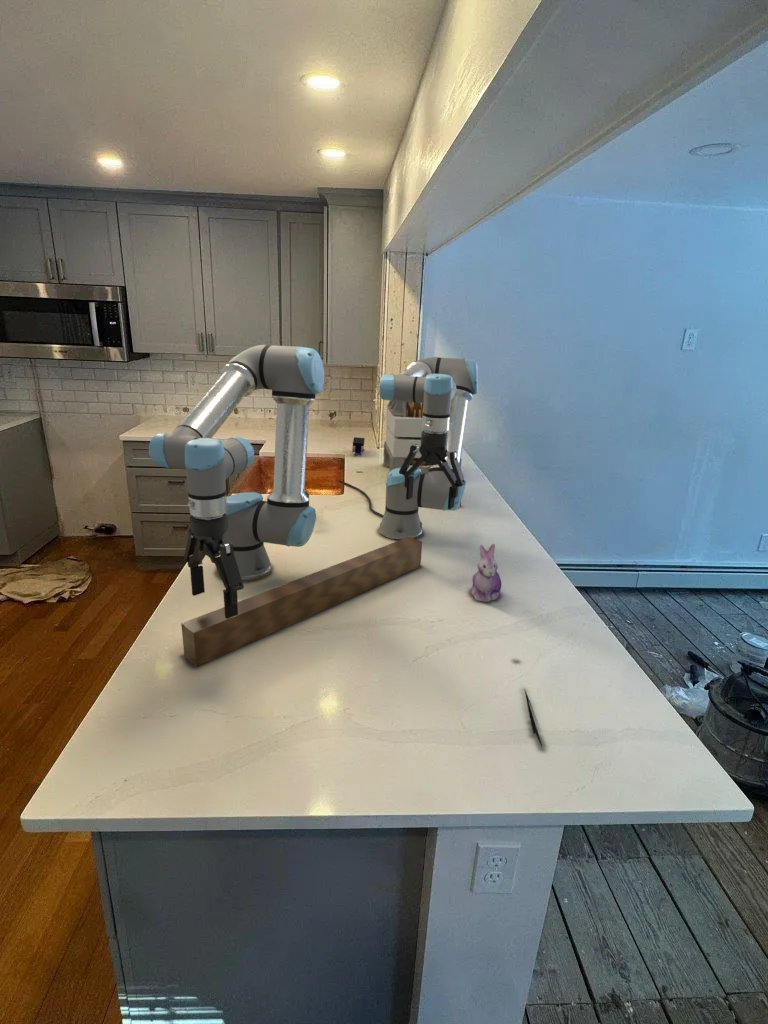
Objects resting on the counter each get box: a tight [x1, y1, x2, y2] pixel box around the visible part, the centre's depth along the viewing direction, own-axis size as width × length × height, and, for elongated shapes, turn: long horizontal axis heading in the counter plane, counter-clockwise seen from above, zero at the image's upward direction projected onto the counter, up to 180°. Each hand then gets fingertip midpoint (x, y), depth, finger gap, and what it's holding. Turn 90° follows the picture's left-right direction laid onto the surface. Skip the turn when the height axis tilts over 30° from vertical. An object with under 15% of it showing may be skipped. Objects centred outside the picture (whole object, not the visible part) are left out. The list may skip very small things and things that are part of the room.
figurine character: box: [351, 436, 365, 456], centre depth 305 cm, size 7×8×15 cm
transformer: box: [383, 400, 464, 472], centre depth 268 cm, size 34×33×41 cm
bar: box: [180, 537, 423, 667], centre depth 149 cm, size 76×5×8 cm, turn 137°
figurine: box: [471, 543, 502, 603], centre depth 157 cm, size 9×10×15 cm
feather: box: [515, 659, 545, 747], centre depth 116 cm, size 2×28×2 cm
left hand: (214, 604), depth 125 cm, fingers open, 13 cm apart
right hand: (429, 503), depth 166 cm, fingers open, 13 cm apart
